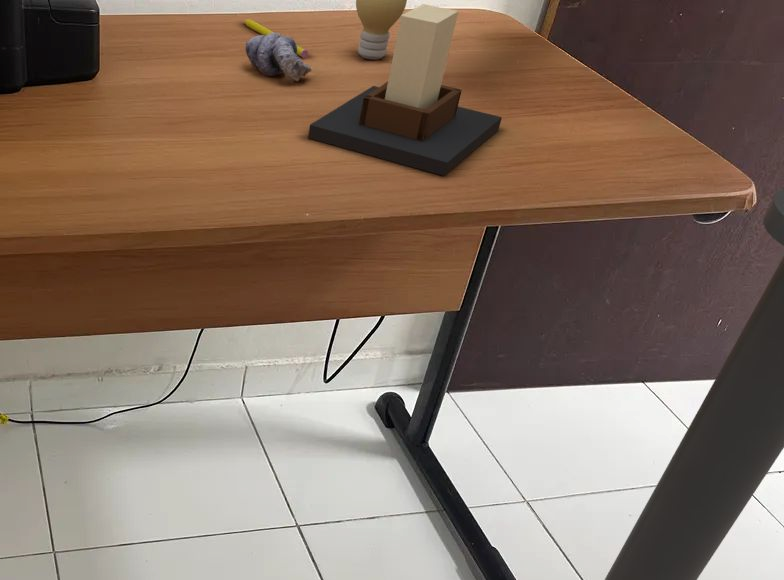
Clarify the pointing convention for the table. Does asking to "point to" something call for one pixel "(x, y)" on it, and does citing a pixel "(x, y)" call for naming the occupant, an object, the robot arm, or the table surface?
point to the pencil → (266, 31)
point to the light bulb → (377, 25)
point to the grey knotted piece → (276, 56)
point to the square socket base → (407, 129)
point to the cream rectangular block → (420, 55)
